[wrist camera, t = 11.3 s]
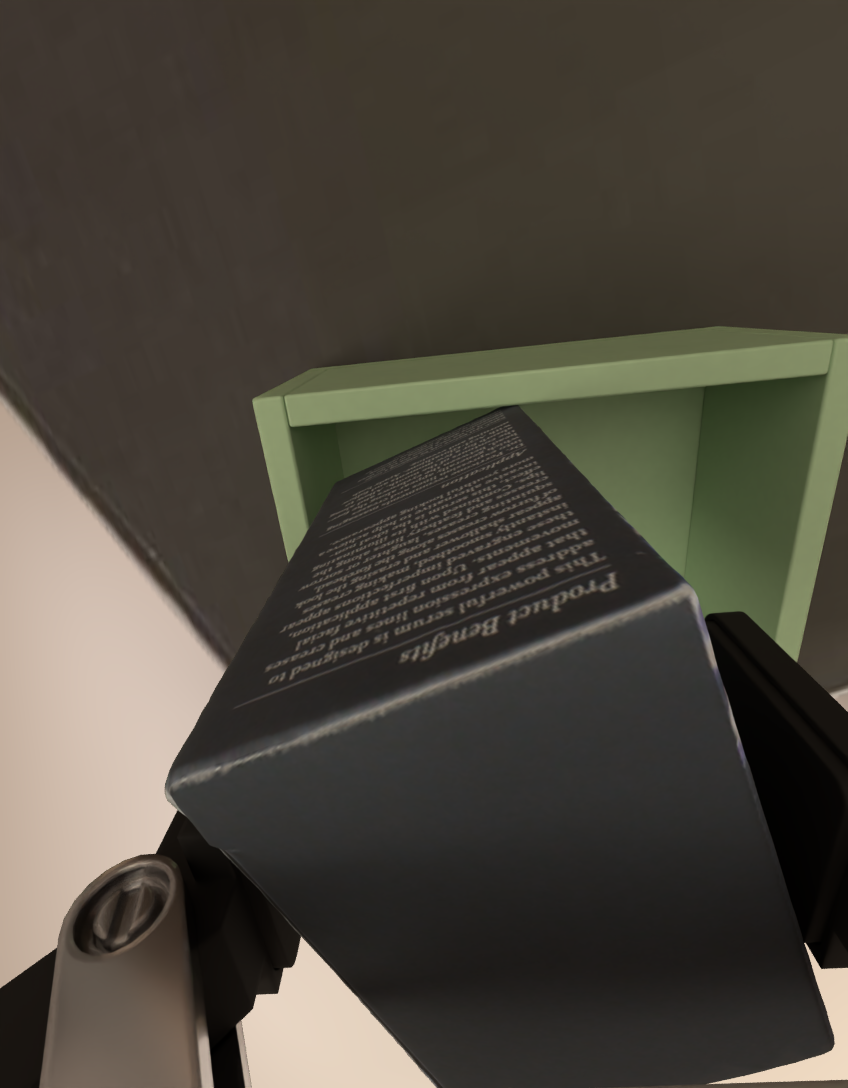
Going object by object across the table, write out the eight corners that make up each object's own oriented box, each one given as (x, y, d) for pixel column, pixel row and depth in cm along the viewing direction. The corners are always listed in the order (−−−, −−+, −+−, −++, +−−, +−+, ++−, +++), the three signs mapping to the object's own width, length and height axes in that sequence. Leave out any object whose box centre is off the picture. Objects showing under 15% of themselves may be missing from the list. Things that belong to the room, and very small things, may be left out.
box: (608, 625, 17) (852, 1065, 7) (443, 686, 18) (457, 1142, 8) (517, 391, 14) (719, 587, 4) (326, 480, 15) (131, 803, 5)
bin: (366, 690, 25) (345, 819, 19) (309, 368, 19) (250, 398, 13) (680, 666, 24) (769, 793, 18) (720, 325, 19) (872, 335, 12)
